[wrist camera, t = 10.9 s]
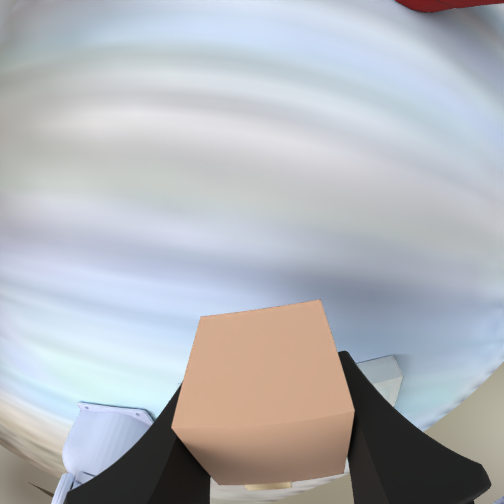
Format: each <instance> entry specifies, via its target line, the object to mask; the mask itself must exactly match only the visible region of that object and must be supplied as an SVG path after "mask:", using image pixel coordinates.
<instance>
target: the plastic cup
mask: <svg viewBox="0 0 504 504" xmlns="http://www.w3.org/2000/svg"><path fill="white" fill-rule="evenodd" d="M395 1H396V2H398V3H400V4H402V5H404V6H406V7H408V8H410V9H412V10H416V11H421V12H425V13H426V12H431V13H432V12H437V11H443V10H448V9H452V8H465V7H473V6H480V5H489V4H501V3H504V0H395Z"/></svg>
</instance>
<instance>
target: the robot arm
mask: <svg viewBox="0 0 504 504" xmlns="http://www.w3.org/2000/svg"><path fill="white" fill-rule="evenodd" d="M338 356H339V359H340V362H341V365H342V369H343V372H344V375H345V379H346V382H347V386H348V389H349V392H350V396H351V399H352V403H353V407H354V410H355V412H354V419H353V425H352V431H351V437H350V443H349V449H348V454H347V459H348V463H349V468H350V475H351V481H352V488H353V496H354V504H474V501H473V500H474V499H476V498H477V497H479V496H480V495H481V494H483V493H484V492H486V491H487V490H488V489H489V488H490V487H491V482H490V480H489V477H488V475H487V473H486V471H485V470H484V468H483V466H482V465H481V464H479V463H477V462H474V461H472V460H470V459H468V458H466V457H463V456H461V455H459V454H457V453H455V452H454V451H452V450H450V449H448V448H446V447H445V446H443V445H442V444H440V443H438V442H437V441H435V440H434V439H432V438H431V437H429V436H428V435H426V434H425V433H423V432H422V431H421V430H419V429H418V428H417V427H416V426H414V425H413V424H412V423H411V422H409V421H408V420H407V419H406V418H405V417H404V416H402V415H401V414H400V413H399V412H398V411H397V410H396V409H395V408H394V407H393V406H392V405H391V404H390V403H389V402H388V401H387V400H386V399H385V398H384V397H383V396H382V395H381V394H380V393H379V392H378V390H377V389H376V388H375V387H374V386H373V385H372V384H371V382H370V381H369V380H368V379H367V378H366V376H365V375H364V374H363V372H362V371H361V370H360V369H359V367H358V366H357V365H356V363H355V362H354V360H353V359H352V357H351V356H350V354H349V353H348V352H347V351H341V352H338ZM182 383H183V382H182ZM182 383H181V385H180V386H179V388H178V389H177V391H176V392H175V394H174V395H173V397H172V398H171V400H170V401H169V403H168V404H167V405H166V407H165V408H164V410H163V411H162V412H161V414H160V415H159V416H158V418H157V419H156V420H155V421H153V420H152V418H151V417H150V416H149V414H148V413H147V412H146V411H145V410H140V409H128V408H119V407H110V406H102V405H95V404H89V403H82V402H78V404H77V405H78V407H79V408H80V409H81V410H80V412H79V414H78V416H77V418H76V420H75V422H74V424H73V426H72V429H71V431H70V433H69V435H68V437H67V439H66V441H65V444H64V447H63V462H64V465H65V467H66V469H67V470H68V473H65V474H62V477H61V479H60V481H59V484H58V486H57V489H56V491H55V494H54V497H53V500H52V502H51V504H210V477H211V476H210V475H209V474H208V472H207V471H206V470H205V469H204V468H203V467H202V466H201V464H200V463H199V462H198V461H197V460H196V458H195V457H194V456H193V455H192V454H191V452H190V451H189V450H188V449H187V447H186V446H185V445H184V443H183V442H182V441H181V440H180V438H179V437H178V436H177V434H176V433H175V432H174V430H173V429H172V428H171V427H172V423H173V419H174V415H175V411H176V407H177V403H178V399H179V395H180V391H181V387H182ZM492 504H504V496H503V497H501V498H500V499H498V500H497V501H495V502H494V503H492Z"/></svg>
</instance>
